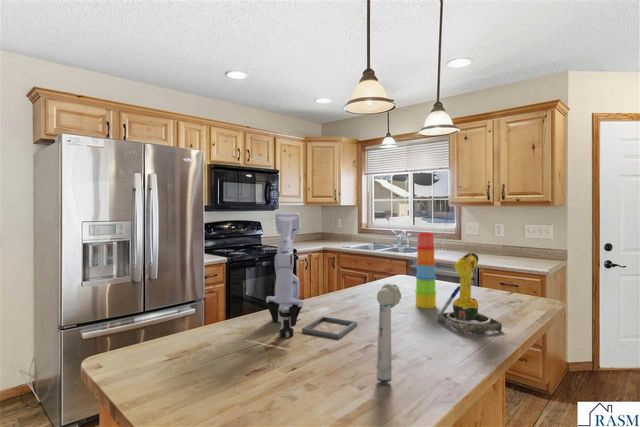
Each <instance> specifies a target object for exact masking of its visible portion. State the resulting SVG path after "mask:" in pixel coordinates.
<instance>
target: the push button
mask: <svg viewBox="0 0 640 427" xmlns="http://www.w3.org/2000/svg"><path fill="white" fill-rule="evenodd" d="M279 315H280V316H281V322H280V329H278V332H276V333H275V337H276V338H277V337H279V338H281V339H283V338H288V337H293V336H294V328H293V327H291V316H290V311H289V307H283V308H281V310H279ZM288 318H289V319H288Z"/></svg>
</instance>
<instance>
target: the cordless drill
mask: <svg viewBox="0 0 640 427" xmlns="http://www.w3.org/2000/svg"><path fill="white" fill-rule="evenodd" d="M478 263H479V256H478V254H476V253H474V252H473V253H471V252H468V253H466V254H465V255H463V256H462V257H460V258H459V259H458V260H457V261H456V262H455V264H454V271H455V272H456V273H457V275H458V276H459V277H460V279H459V285H457V287H456V288H455V289H454V291H453V292H452V293H451V295H450V297H449V298H447V301H446V302H445V304H444V305H443V307H442V308H441V310H440V312H439V313H437V322H439V323H441V324H445V325H449V326H451V328H454V329H455V330H457V331H458V332H460V333H463V334H465V333H471V334H478V335H480V334H485V333H487V332H489V331H493V332H502V329H503V328H502V327H503V326H502V325H503V323H501V322H500V321H499V320H496V319H494V318H491V317H490V316H487V315H485V314H482V313H479V302H478V300H477V299H476V298H471V297H472V295H471V294H472V282H473V279H472V274H473V272H474V269H475V268H476V267H477V265H478ZM458 293H459V297H458V298H457V299H455V297H456V296H457V294H458ZM454 299H455V300H454ZM452 301H453V303H452ZM451 303H452V308H453V309H452V312H450V311H449V312H446V310H447V308H448V307H449V305H450V304H451ZM475 319H477V320H479V322H477V321H476V322H475V321H474V320H475Z"/></svg>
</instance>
